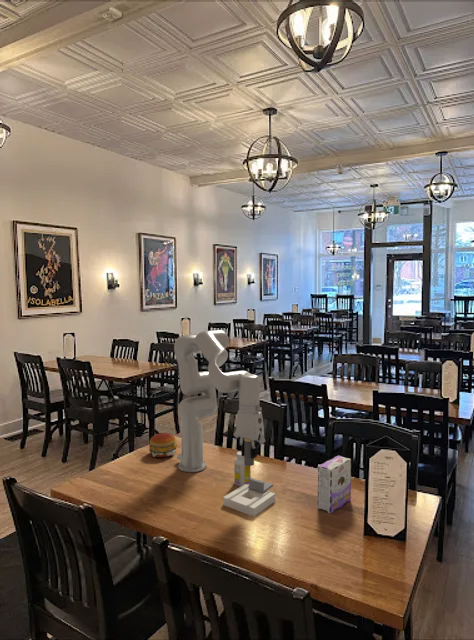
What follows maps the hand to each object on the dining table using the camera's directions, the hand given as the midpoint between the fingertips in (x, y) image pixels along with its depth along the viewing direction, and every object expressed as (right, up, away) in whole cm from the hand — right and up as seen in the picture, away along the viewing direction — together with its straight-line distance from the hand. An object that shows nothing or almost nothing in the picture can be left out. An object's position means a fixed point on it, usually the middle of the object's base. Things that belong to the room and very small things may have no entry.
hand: (249, 455), depth 164 cm
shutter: (+5, -14, +7) cm, 17 cm away
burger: (-40, -15, +50) cm, 66 cm away
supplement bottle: (-2, -17, +18) cm, 25 cm away
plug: (0, -3, 0) cm, 3 cm away
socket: (0, -18, +1) cm, 18 cm away
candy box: (+32, -18, 0) cm, 37 cm away
